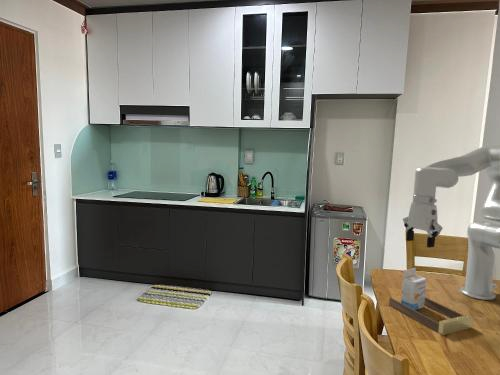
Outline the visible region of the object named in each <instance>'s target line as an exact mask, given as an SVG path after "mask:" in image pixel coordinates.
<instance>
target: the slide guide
mask: <svg viewBox="0 0 500 375" xmlns="http://www.w3.org/2000/svg"><path fill="white" fill-rule="evenodd" d="M388 306H391V308H394V309H395V310H397V311H398V312H401V313H402V314H405V315H406V316H408V317H410V318H412V319H413V320H415V321H416V322H419V323H420V324H422V325H424V326H426V327H428V328H429V329H431V330H433V331H435V332H436V333H438V334H440V335H441V336H444V335H448V334H452V333H456V332H460V331H463V330H464V331H465V330H468V329H471V328H473V319H474V318H473V316H472V315H471V314H465V315H464V314H462V313H460V312H458V311H456V310H454V309H451V308H449V307H447V306H446V305H443V304H441V303H438V302H437V301H434V300H433V299H430V298H428V297H426V296H425V302H424V307H427V308H430V309H432V311H433V310H434V311H436V312H437V313H440V314H442V315H443V316H445V317H446V318H447V317H448V318H447V319H444V320H443V319H442V320H439V321H436V320H434V319H432V318H430V317H429V316H427V315H424V314H422V313H421V312H419V311H417V310H413V309H411V308H410V307H408V306H406V305H404V304H402V303H401V301H398V300H396V299H394V298H393V297H389V301H388Z"/></svg>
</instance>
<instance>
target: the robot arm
mask: <svg viewBox="0 0 500 375" xmlns="http://www.w3.org/2000/svg"><path fill="white" fill-rule="evenodd" d="M483 170H485V171H486V173H487V177H488V179H489V183H490V186H489V191H488V192H487V195H486V198H485V199H484V202H483V204H482V206H481V209H480V215H481V217H482V218H483V219H484V220H487V221H491V222H487V221H480V220H479V221H478V220H477V221H473V222H471V223H470V224H469V225H468V226H467V231H466V232H467V233H466V234H467V235H466V236H467V242H468V243H467V245H468V250H467V261H466V272H465V273H466V274H465V282H464V284H465V285H464V286H463V285H462V286H461V287H460V293H462V294H463V295H465V296H467V297H470V298H472V299H473V298H474V299H477V300H481V301H482V300H484V301H492V300H494V299H496V294H495V292H493V290H494V289H495V290H496V289H498V285H497V284H496V283H493V279H494V270H495V260H496V255H495V252H494V249H498V250H500V224H497V223H500V145H486V146H481V147H479V148H477V149H475V150H472V151H470V152H468V153H465V154H463V155H460V156H456V157H455V156H454V157H452V158H447V159H444V160H443V159H442V160H439V161H436V162H433V163H431V164H429V165H426V166H425V167H418V168H416V170H415V172H414V173H415V174H414V184H413V195H412V197H413V198H412V202H411V204H410V206H409V212H408V216H406V217H403V218H402V222H403V225H404V227H405V231H406V239H405V240H406V242H412V241H413V242H414V236H415V229H417V230H420V231H424V232H426V233H427V234H428V236H427V239H426V241H427V242H426V248H430V249H431V248H434V247H435V244H436V243H435V242H436V238H437V237H438V236H439V235H440V234H441V232H442V230H443V226H442V225H441V224H440V223H438V208H437V205H436V203H437V201H438V200H437V198H436V193H437V188H442V189H449V188H453V187H454V186H456V185H457V184H458V182H459V177H460V178H461V177H468V176H472V175H475V174H477V173H479V172H481V171H483ZM492 222H495V223H492ZM493 248H494V249H493Z"/></svg>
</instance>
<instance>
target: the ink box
mask: <svg viewBox="0 0 500 375" xmlns="http://www.w3.org/2000/svg"><path fill="white" fill-rule="evenodd" d="M416 270H417V267H413V268H412V267H411V268H408V269H405V270H404V271H403V276H402V286H401V300H400V303H402V304H404V305H406V306H408V307H410V308H411V309H413V310H415V311H417V310H420V309H423V308H425V305H424V302H425V297H426V288H427V278H425V277H424V276H423V277H422V276H421V275H420V276H419V275H417V274H416Z"/></svg>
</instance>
